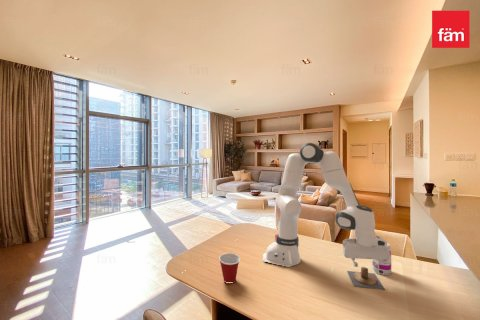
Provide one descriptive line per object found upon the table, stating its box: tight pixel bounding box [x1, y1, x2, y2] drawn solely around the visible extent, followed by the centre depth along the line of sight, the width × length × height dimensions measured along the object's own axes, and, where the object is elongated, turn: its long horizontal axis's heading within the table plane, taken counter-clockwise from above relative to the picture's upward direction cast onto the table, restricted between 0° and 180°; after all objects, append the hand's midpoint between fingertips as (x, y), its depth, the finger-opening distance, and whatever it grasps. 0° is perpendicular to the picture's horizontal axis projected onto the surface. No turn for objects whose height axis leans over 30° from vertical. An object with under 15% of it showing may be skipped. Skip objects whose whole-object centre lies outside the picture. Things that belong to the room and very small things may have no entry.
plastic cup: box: [218, 252, 241, 283], centre depth 108 cm, size 11×11×12 cm
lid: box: [353, 266, 377, 285], centre depth 106 cm, size 10×10×5 cm
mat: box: [346, 270, 386, 291], centre depth 106 cm, size 13×13×1 cm
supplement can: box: [372, 242, 392, 276], centre depth 113 cm, size 8×8×15 cm
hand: (366, 266), depth 107 cm, fingers open, 8 cm apart
